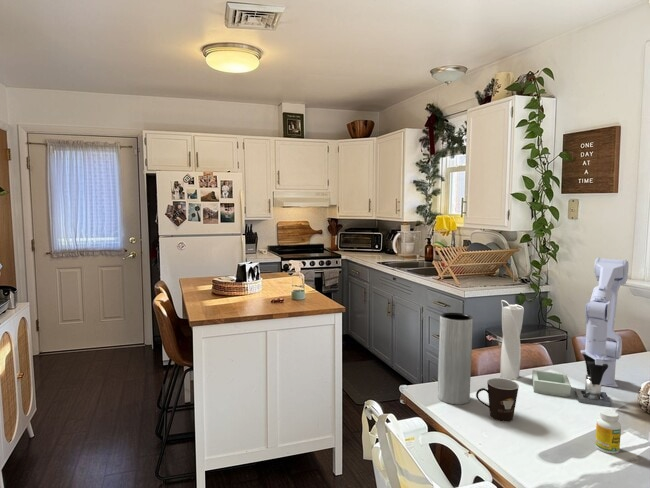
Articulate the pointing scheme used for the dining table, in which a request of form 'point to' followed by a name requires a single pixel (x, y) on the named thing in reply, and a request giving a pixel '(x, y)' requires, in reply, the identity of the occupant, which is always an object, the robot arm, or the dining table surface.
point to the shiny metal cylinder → (592, 389)
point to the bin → (551, 383)
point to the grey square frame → (603, 402)
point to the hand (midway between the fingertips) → (593, 380)
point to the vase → (455, 358)
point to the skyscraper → (511, 341)
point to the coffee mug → (501, 398)
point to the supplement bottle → (608, 432)
